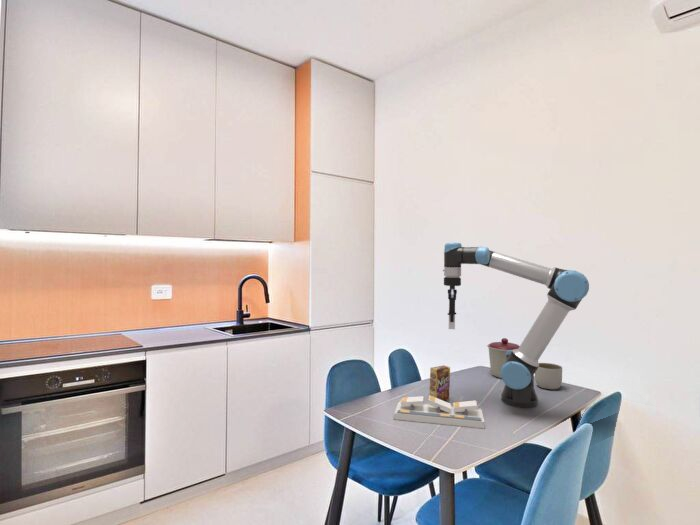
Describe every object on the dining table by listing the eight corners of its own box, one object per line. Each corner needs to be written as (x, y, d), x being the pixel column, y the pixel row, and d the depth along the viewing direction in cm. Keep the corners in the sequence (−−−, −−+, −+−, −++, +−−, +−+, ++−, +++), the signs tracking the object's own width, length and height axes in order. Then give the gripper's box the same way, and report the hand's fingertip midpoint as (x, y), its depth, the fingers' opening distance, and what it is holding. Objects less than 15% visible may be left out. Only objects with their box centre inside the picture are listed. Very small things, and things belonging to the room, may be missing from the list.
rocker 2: (449, 407, 169) (450, 402, 169) (449, 413, 162) (451, 408, 162) (428, 399, 171) (429, 394, 171) (427, 404, 164) (429, 399, 164)
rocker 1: (424, 400, 171) (423, 395, 171) (423, 406, 164) (422, 400, 165) (402, 401, 173) (402, 396, 173) (401, 407, 166) (400, 402, 167)
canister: (518, 383, 213) (518, 342, 213) (483, 377, 223) (483, 338, 223) (524, 375, 228) (525, 337, 228) (491, 370, 238) (492, 334, 238)
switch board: (481, 415, 168) (481, 405, 168) (484, 428, 155) (484, 418, 155) (398, 407, 176) (398, 398, 176) (394, 419, 163) (394, 409, 163)
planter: (563, 386, 209) (563, 365, 209) (560, 393, 198) (561, 370, 198) (536, 382, 215) (536, 361, 215) (532, 388, 205) (533, 366, 205)
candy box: (435, 404, 181) (436, 369, 181) (428, 401, 184) (429, 367, 184) (450, 400, 186) (450, 366, 186) (442, 397, 189) (443, 364, 189)
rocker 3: (476, 404, 166) (475, 399, 167) (478, 411, 160) (477, 405, 160) (454, 406, 168) (453, 401, 169) (454, 413, 162) (453, 407, 162)
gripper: (443, 276, 193) (443, 326, 193) (443, 277, 180) (443, 330, 180) (460, 276, 191) (459, 327, 191) (461, 277, 178) (460, 331, 178)
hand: (451, 328), depth 186 cm, fingers closed
